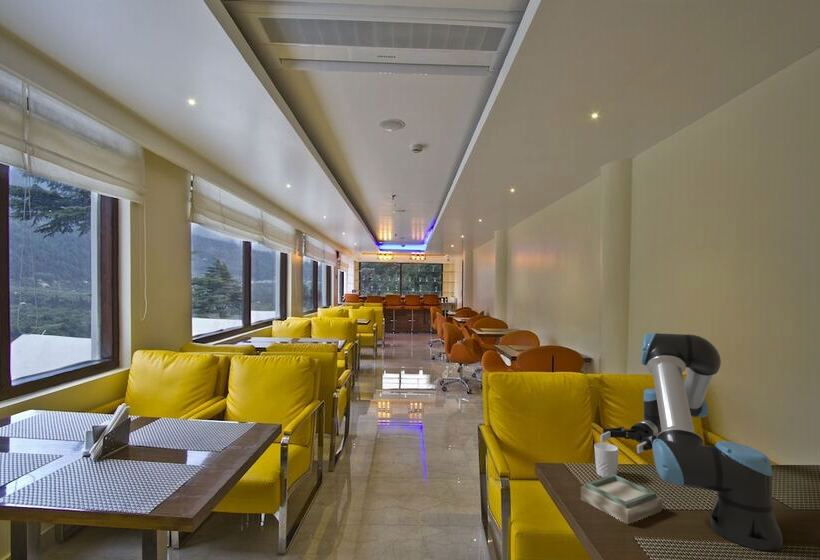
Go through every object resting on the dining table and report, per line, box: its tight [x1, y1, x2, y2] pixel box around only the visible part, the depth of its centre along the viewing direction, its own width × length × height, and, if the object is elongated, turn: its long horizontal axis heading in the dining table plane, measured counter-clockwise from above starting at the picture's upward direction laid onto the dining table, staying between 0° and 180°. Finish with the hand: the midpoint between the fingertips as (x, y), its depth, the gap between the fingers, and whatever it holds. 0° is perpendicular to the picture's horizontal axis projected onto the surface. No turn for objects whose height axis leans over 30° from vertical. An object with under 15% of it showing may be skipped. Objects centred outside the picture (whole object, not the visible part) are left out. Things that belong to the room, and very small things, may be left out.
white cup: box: [593, 442, 619, 478], centre depth 145 cm, size 8×8×10 cm
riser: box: [580, 474, 663, 525], centre depth 124 cm, size 16×16×5 cm
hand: (618, 443), depth 151 cm, fingers open, 13 cm apart
